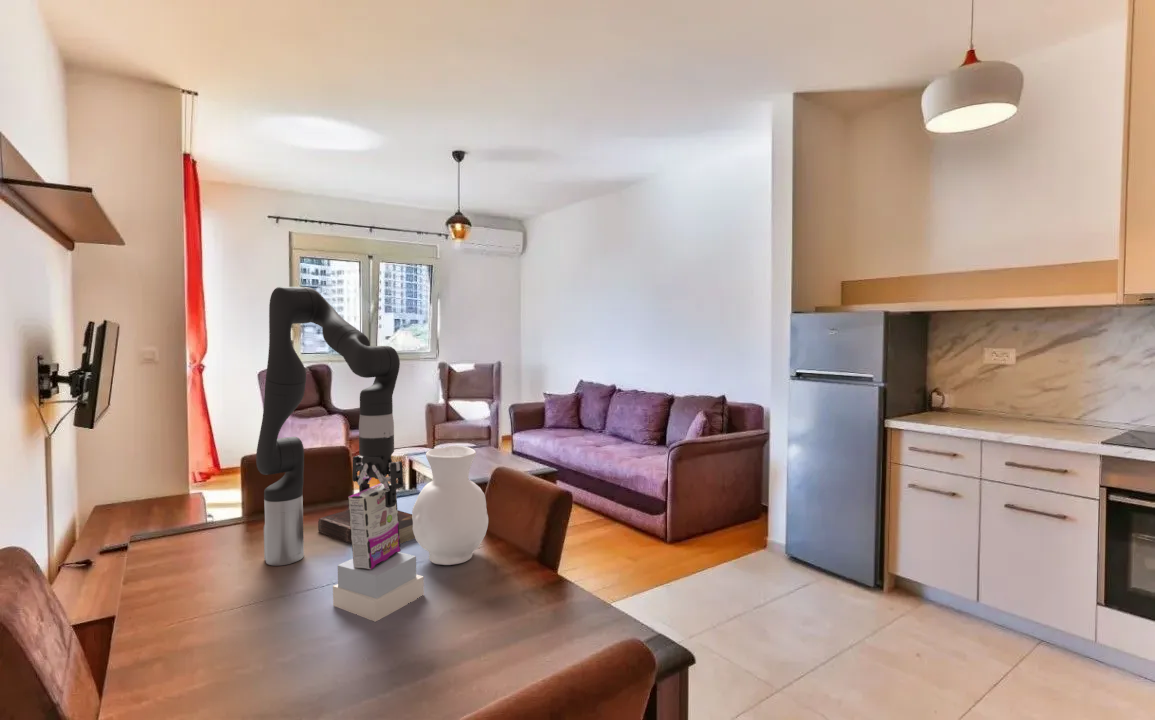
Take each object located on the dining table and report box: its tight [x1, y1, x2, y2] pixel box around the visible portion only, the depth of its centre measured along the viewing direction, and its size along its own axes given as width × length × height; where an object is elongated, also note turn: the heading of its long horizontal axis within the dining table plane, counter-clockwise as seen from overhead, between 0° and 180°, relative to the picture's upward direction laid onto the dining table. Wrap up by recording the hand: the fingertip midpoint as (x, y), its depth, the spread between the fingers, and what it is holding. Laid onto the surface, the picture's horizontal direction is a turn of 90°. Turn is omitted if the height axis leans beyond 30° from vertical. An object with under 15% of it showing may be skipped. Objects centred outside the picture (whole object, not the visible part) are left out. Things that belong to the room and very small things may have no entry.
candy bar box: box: [347, 482, 401, 570], centre depth 127 cm, size 11×5×16 cm, turn 162°
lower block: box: [332, 573, 425, 623], centre depth 128 cm, size 14×14×5 cm
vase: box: [411, 445, 489, 566], centre depth 151 cm, size 19×21×30 cm
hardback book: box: [317, 509, 415, 545], centre depth 171 cm, size 29×19×5 cm, turn 55°
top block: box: [337, 551, 417, 599], centre depth 127 cm, size 12×12×5 cm
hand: (377, 503), depth 127 cm, fingers open, 8 cm apart
